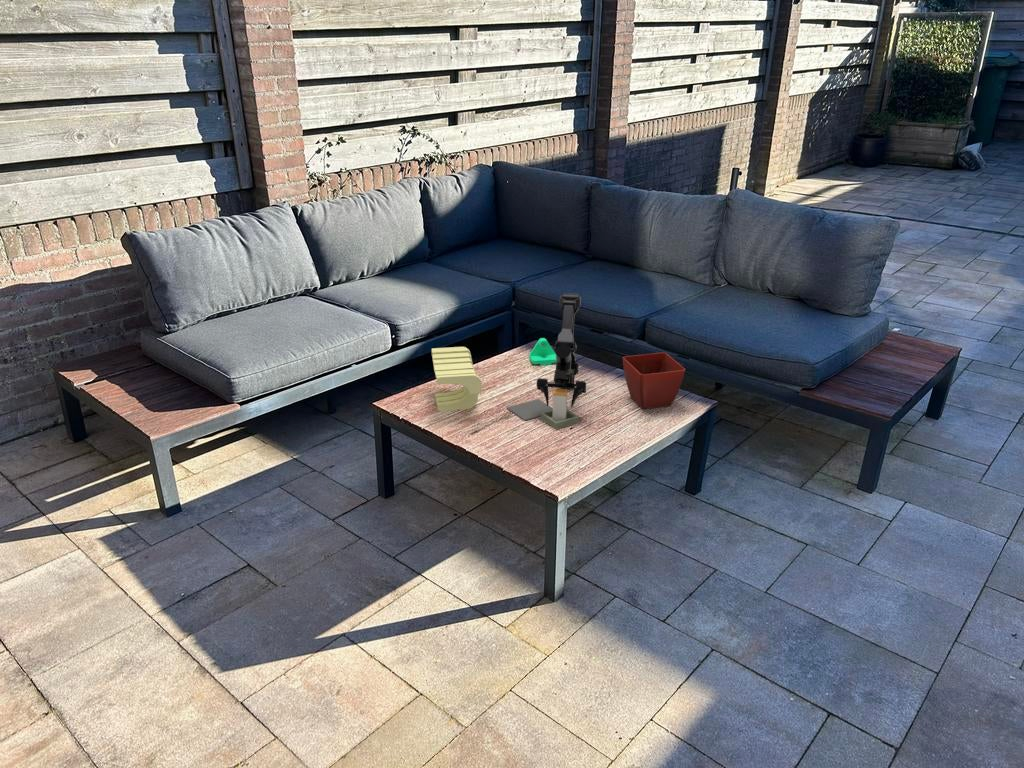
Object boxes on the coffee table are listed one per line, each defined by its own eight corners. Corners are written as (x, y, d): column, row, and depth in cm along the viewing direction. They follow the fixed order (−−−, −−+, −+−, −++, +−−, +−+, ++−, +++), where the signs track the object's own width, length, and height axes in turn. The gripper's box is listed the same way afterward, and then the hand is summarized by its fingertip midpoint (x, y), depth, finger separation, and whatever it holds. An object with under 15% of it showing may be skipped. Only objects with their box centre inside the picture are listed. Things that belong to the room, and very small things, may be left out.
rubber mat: (538, 400, 325) (538, 398, 325) (556, 412, 315) (556, 410, 315) (506, 408, 318) (506, 407, 318) (524, 421, 308) (524, 419, 308)
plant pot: (637, 414, 315) (641, 374, 308) (619, 394, 331) (621, 356, 325) (682, 408, 319) (686, 369, 312) (661, 389, 336) (665, 352, 329)
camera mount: (533, 366, 358) (533, 344, 354) (529, 360, 365) (529, 338, 361) (559, 364, 360) (559, 343, 356) (554, 358, 367) (555, 337, 363)
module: (553, 418, 311) (554, 388, 306) (566, 418, 310) (567, 389, 305) (552, 422, 307) (553, 392, 302) (565, 423, 306) (566, 393, 301)
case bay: (562, 412, 315) (562, 406, 314) (578, 422, 307) (579, 416, 306) (540, 418, 310) (540, 412, 309) (556, 429, 302) (556, 423, 301)
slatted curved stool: (481, 417, 311) (481, 374, 303) (440, 420, 308) (439, 377, 301) (470, 386, 338) (470, 346, 330) (432, 388, 335) (431, 348, 328)
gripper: (537, 358, 304) (533, 397, 298) (587, 362, 301) (584, 401, 296) (539, 370, 314) (535, 407, 309) (587, 373, 312) (584, 411, 306)
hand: (559, 406), depth 305 cm, fingers open, 9 cm apart
